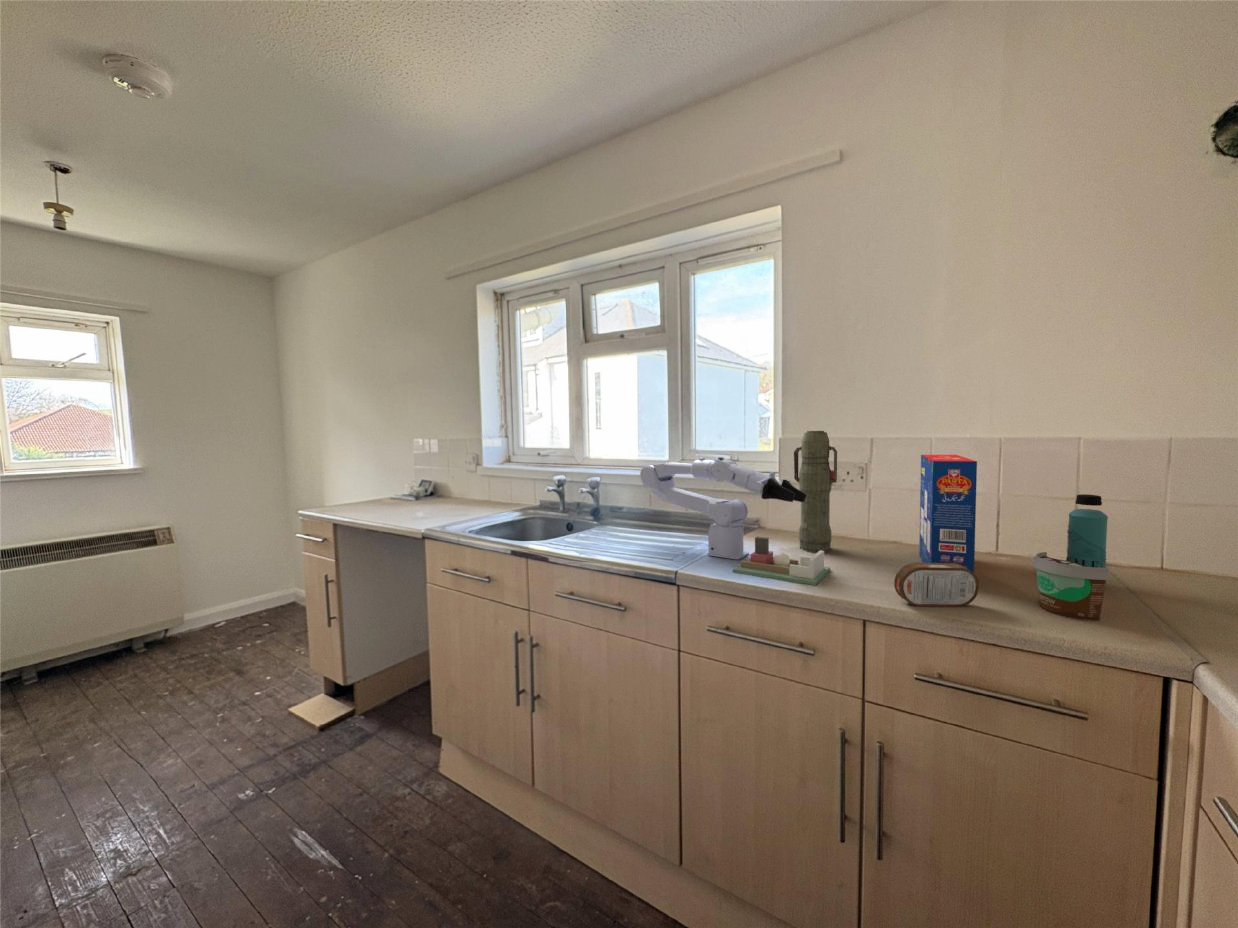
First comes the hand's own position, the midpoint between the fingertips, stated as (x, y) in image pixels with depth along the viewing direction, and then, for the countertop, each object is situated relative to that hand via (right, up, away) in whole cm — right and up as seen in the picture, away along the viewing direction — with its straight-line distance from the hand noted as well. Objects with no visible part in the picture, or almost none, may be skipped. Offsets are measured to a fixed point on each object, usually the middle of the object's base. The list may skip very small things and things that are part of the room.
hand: (799, 498), depth 123 cm
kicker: (-9, -18, +2) cm, 20 cm away
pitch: (-5, -18, -1) cm, 19 cm away
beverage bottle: (+57, -18, -16) cm, 62 cm away
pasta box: (+35, -18, -2) cm, 39 cm away
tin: (+17, -20, -27) cm, 37 cm away
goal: (0, -18, -5) cm, 19 cm away
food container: (+37, -20, -31) cm, 53 cm away
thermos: (+12, -17, +21) cm, 29 cm away
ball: (-5, -16, -2) cm, 16 cm away
